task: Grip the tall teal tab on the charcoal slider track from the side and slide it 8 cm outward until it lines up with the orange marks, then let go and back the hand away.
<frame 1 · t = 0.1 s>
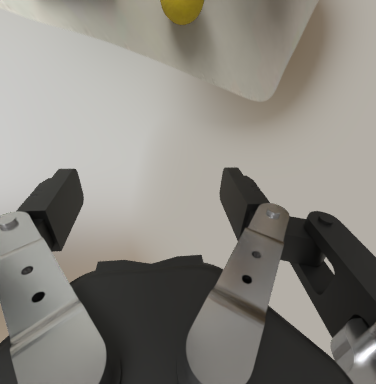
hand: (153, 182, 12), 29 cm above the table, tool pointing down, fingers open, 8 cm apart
lemon: (178, 2, 30), on the table
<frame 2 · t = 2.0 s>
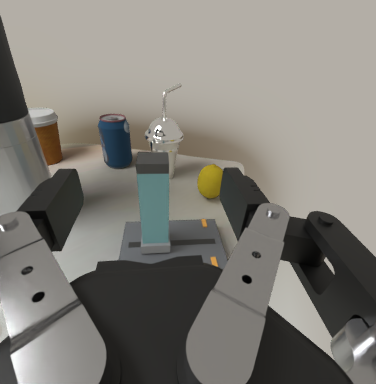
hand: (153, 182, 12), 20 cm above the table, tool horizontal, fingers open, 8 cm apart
soda can: (119, 164, 56), on the table
slider tab: (154, 205, 28), point 9 cm above the table, slide at 0.0 cm
disposable coffee cup: (48, 160, 56), on the table
slider track: (172, 251, 33), on the table
cup with straw: (165, 175, 53), on the table
lemon: (208, 198, 46), on the table
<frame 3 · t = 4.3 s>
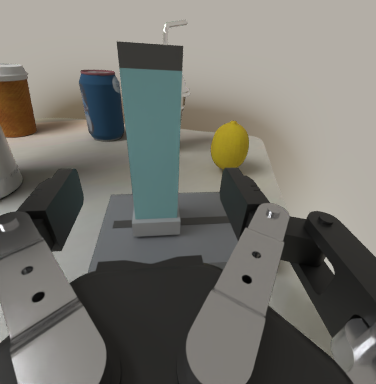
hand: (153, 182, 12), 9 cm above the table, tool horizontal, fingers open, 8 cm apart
soda can: (108, 137, 45), on the table
slider tab: (154, 152, 16), point 9 cm above the table, slide at 0.0 cm
disposable coffee cup: (19, 133, 44), on the table
slider track: (182, 236, 22), on the table
cup with straw: (166, 148, 42), on the table
lemon: (225, 172, 35), on the table
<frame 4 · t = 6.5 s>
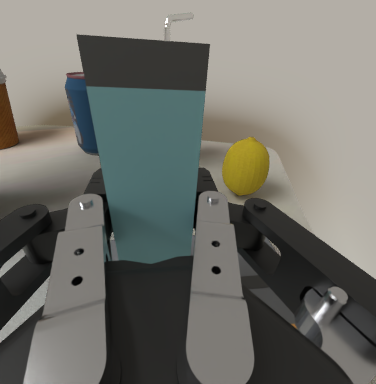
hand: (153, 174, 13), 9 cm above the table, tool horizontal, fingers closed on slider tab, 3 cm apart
soda can: (100, 149, 39), on the table
slider tab: (154, 207, 11), point 9 cm above the table, slide at 0.0 cm, touching gripper
slider track: (191, 302, 16), on the table
cup with straw: (168, 163, 36), on the table
lemon: (238, 196, 29), on the table
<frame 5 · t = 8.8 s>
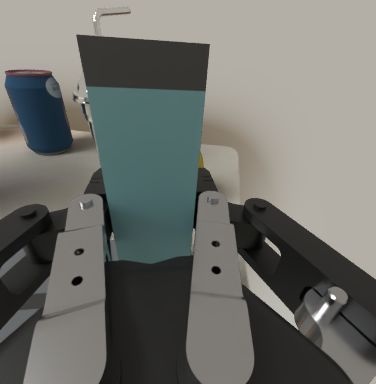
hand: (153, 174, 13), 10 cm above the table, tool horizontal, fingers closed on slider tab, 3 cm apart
soda can: (53, 149, 38), on the table
slider tab: (154, 208, 11), point 9 cm above the table, slide at 8.2 cm, touching gripper
slider track: (76, 314, 15), on the table
cup with straw: (118, 164, 35), on the table
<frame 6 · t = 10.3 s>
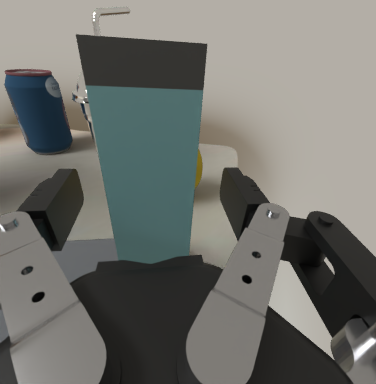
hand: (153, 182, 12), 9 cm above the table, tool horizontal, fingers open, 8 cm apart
soda can: (52, 149, 38), on the table
slider tab: (153, 206, 11), point 9 cm above the table, slide at 8.2 cm
slider track: (75, 312, 15), on the table
cup with straw: (117, 163, 35), on the table
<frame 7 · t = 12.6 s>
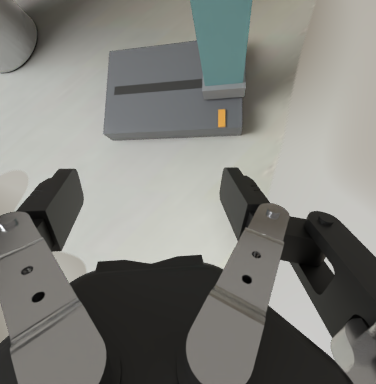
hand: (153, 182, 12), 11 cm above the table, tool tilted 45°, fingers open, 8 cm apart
slider tab: (222, 17, 15), point 9 cm above the table, slide at 8.2 cm
slider track: (174, 96, 25), on the table
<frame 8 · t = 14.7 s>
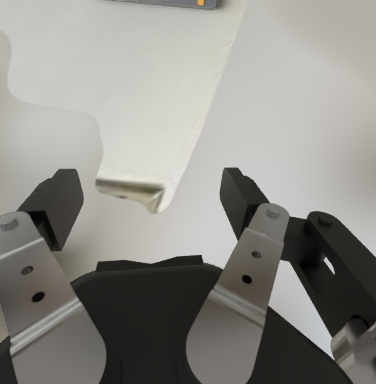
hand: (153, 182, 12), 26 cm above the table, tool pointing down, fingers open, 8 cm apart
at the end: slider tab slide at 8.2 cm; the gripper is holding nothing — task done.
